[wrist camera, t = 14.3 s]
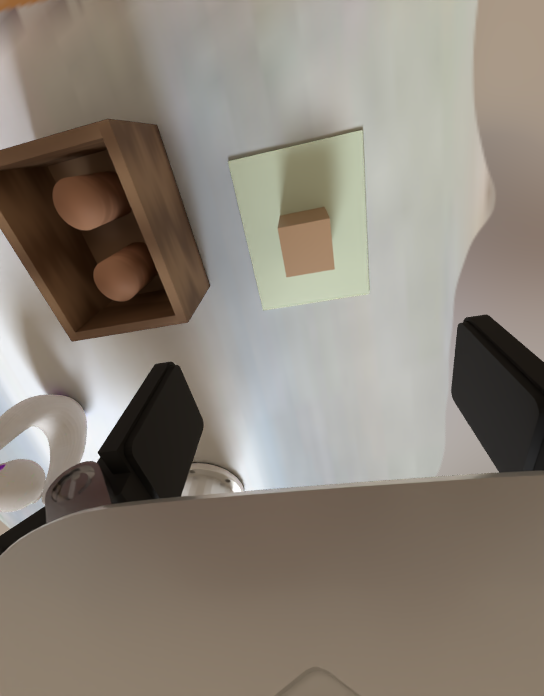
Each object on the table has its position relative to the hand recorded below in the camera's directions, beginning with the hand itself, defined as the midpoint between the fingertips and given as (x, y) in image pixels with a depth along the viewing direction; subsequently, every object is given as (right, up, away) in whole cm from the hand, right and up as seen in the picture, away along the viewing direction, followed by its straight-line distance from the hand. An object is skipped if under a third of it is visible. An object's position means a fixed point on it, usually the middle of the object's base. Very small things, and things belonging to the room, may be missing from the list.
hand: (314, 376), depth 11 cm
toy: (-28, -7, +33) cm, 44 cm away
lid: (+2, +12, +19) cm, 23 cm away
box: (-15, +12, +19) cm, 27 cm away
